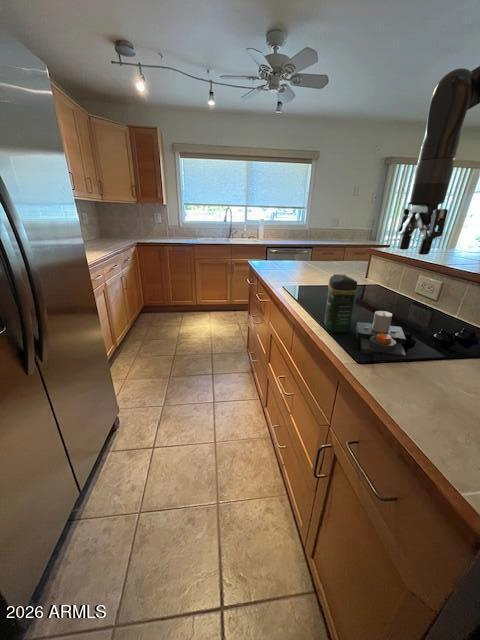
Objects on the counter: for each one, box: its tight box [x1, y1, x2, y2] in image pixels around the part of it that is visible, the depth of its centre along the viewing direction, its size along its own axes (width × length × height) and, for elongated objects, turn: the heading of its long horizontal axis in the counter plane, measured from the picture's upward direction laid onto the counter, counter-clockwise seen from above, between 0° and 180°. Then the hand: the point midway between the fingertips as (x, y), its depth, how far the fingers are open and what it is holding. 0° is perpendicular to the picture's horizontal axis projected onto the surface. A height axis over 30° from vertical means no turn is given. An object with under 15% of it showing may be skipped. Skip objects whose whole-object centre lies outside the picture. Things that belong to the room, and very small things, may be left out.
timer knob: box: [372, 310, 393, 333], centre depth 81 cm, size 5×5×6 cm
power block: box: [359, 335, 407, 357], centre depth 76 cm, size 11×7×4 cm, turn 69°
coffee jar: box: [323, 273, 358, 334], centre depth 88 cm, size 10×8×19 cm
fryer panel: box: [355, 321, 407, 345], centre depth 83 cm, size 13×9×3 cm
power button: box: [376, 333, 391, 344], centre depth 75 cm, size 4×4×2 cm
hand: (412, 251), depth 69 cm, fingers open, 8 cm apart
